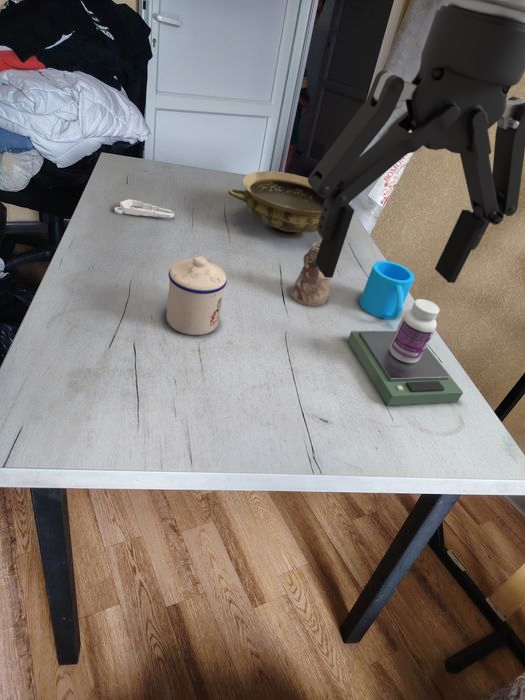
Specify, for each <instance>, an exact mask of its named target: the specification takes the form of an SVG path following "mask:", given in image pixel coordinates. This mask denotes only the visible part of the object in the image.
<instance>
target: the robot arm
mask: <svg viewBox="0 0 525 700" xmlns="http://www.w3.org/2000/svg"><path fill="white" fill-rule="evenodd" d="M420 54H421V55H420V65H419V69H418V72H417V73H416V74H415V76H414V78H413V79H412V80H411V81H407V80H405V79H403V78H402V77H400V76H399V75H396V74H395V73H392V72H390V71H388V70H387V69H385V70H384V69H382V70H380V71H378V72H377V74H376V76H374V80H373V83H372V85H371V87H370V90H369V91H368V95H367V98H366V99H365V101H364V102H363V104H362V105H361V106H360V108H359V109H358V110H357V112H356V113H355V114H354V116H353V117H352V119H350V121H349V122H348V124H347V125H346V126H345V128H344V129H343V130H342V132H341V133H340V134H339V136H338V137H337V138H336V140H335V141H334V142H333V144H332V145H331V146H330V147H329V149H328V150H327V152H326V153H325V154H324V156H323V157H322V158H321V160H320V161H319V162H318V163H317V165H316V166H315V167H314V169H313V170H312V171H311V173H310V174H309V176H308V177H307V178H308V183H309V185H310V186H311V187H312V188H313V190H314V191H315V192H316V193H317V194H318V195H319V197H321V198H325V201H324V205H323V208H322V212H321V215H320V219H319V222H318V226H317V230H318V231H317V233H318V235H319V236H320V238H321V240H322V241H321V245H320V248H319V251H318V255H317V258H316V262H315V263H316V264H317V266H318V267H319V269H320V270H321V272H322V274H323V275H324V277H328V278H331V279H332V278H333V277H334V274H335V273H336V268H337V265H338V262H339V259H340V256H341V253H342V251H343V247H344V243H345V241H346V237H347V234H348V232H349V229H350V226H351V222H352V219H353V216H354V213H355V209H354V208H353V207H352V206H351V204H349V203H351V201H353V200H355V198H357V197H358V196H359V195H361V193H362V192H364V191H365V190H366V189H367V188H369V186H371V185H372V184H373V183H374V182H376V181H377V180H378V179H379V178H381V176H383V175H385V173H387V172H388V171H389V170H390V169H391V168H393V167H394V166H395V165H396V164H397V163H398V162H400V161H401V160H402V159H403V158H404V157H406V155H408V154H412V153H416V152H417V151H419V149H421V148H422V147H424V148H426V149H427V150H434V151H439V150H447V151H449V152H450V153H453V154H459V156H460V161H461V165H462V169H463V174H464V179H465V183H466V188H467V191H468V196H469V201H470V205H471V206H470V207H471V209H472V211H471V210H469V209H461V211H460V214H459V216H458V218H457V220H456V223H455V224H454V226H453V228H452V230H451V233H450V235H449V238H448V239H447V241H446V244H445V245H444V248H443V250H442V252H441V254H440V255H439V258H438V261H437V263H436V265H435V267H434V270H435V271H436V272H437V273H438V274H439V275H440V276H441V277H442V278H443V279H444V280H445V281H446V282H447V283H449V284H455V283H456V282H457V279H458V277H459V275H460V274H461V272H462V270H463V268H464V266H465V264H466V262H467V260H468V257H470V256H469V255H470V254H471V252H472V251H475V250H476V249H477V248H478V246H480V245H479V244H480V243H481V242H482V241H481V240H482V239H483V237H484V234H485V233H486V231H487V230H488V227H489V225H490V224H491V225H493V226H497V225H499V224H500V223H501V222H502V221H503V220H504V218H505V216H507V217H512V216H513V215H515V214H516V212H517V211H518V209H519V207H518V206H519V199H520V192H521V184H522V177H523V176H522V175H523V167H524V163H525V162H524V161H525V99H523V98H520V97H517V96H515V95H513V96H510V97H509V98H508V94H509V91H510V90H511V88H512V87H513V86H516V85H517V84H519V83H520V81H521V80H522V78H523V77H524V74H525V0H448V3H447V5H440V8H439V9H436V11H435V13H434V17H433V19H432V22H431V25H430V28H429V31H428V33H427V37H426V40H425V42H424V45H423V48H422V51H421V53H420ZM507 98H508V99H507ZM404 102H405V107H406V112H405V113H404V114H403V115H402V116H401V117H399V118H398V119H397V120H396V121H394V123H392V124H391V125H390V126H389V127H388V131H387V133H386V134H385V135H383V136H382V137H381V138H380V139H378V140H377V141H376V142H375V143H373V144H372V145H371V146H370V147H369V145H370V144H371V143H372V142H373V140H374V139H375V138H376V136H377V135H379V133H380V131H381V130H382V129H383V128H384V127H385V126H386V124H387V123H388V121H389V120H390V118H391V117H392V115H393V113H394V111H396V110H398V109H400V108H402V107H403V105H404ZM495 124H496V125H497V126H496V129H495V136H494V148H493V151H494V152H493V161H492V165H491V160H490V154H492V147H491V140H490V135H489V130H490V128H491V127H493V125H495ZM368 147H369V148H368ZM367 148H368V149H367ZM366 149H367V150H366ZM504 215H505V216H504Z"/></svg>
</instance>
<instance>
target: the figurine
mask: <svg viewBox="0 0 525 700" xmlns="http://www.w3.org/2000/svg"><path fill="white" fill-rule="evenodd" d="M321 241H322V239H320V240H317V241H314V242H313V243H312V244H311V246H310V248H309V250H308V252H307V253H305V254H304V255H303V258H302V261H303V266H302V268H301V270H300V272H299V274H298V275H297V278H296V280H295V282H294V283H293V287H292V289H291V293H290V295H291V297H292V298H293V299H294V300H295V301H297V302H298V303H299V304H301V305H303V306H304V305H305V306H309V307H318V306H322V305H324V304H325V303H326V301H327V299H328V297H329V295H330V291H331V285H332V278H328V277H324V275H323V274H322V272H321V270H320V269H319V267H318V266H317V264H316V263H315V262H316V258H317V255H318V251H319V248H320V245H321Z"/></svg>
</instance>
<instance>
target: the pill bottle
mask: <svg viewBox="0 0 525 700" xmlns="http://www.w3.org/2000/svg"><path fill="white" fill-rule="evenodd" d="M439 314H440V307H439V306H438V305H437V304H436V303H434V302H433V301H431V300H428V299H423V298H418V299H416V300H415V301H414V303H413V304H412V306H411V309H408V310H407V311H405V312H404V314H403V316H402V318H401V320H400V321H399V324H398V326H397V328H396V330H395V331H396V333H395V335H394V337H393V339H392V342H391V344H390V347H389V350H390V352H391V354H392V355H393V356H394V357H395V358H397V359H398V360H400V361H402V362H406V363H415V362H417V361H419V359H420V358H421V356H422V354H423V352H424V350H425V348H426V346H427V347H428V346H429V345H428V344H429V343H430V341H431V339H432V337H433V335H434V334H435V331H436V329H437V325H438V324H437V318H438V316H439Z"/></svg>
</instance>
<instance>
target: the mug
mask: <svg viewBox="0 0 525 700" xmlns="http://www.w3.org/2000/svg"><path fill="white" fill-rule="evenodd" d="M414 281H415V274H414V273H413V272H412V271H411V270H410V269H409V268H407V267H406V266H404V265H402V264H399V263H397V262H395V261H394V262H393V261H389V260H377V261H375V262H374V263H373V265H372V267H371V270H370V272H369V275H368V277H367V280H366V283H365V285H364V288H363V291H362V293H361V296H360V299H359V305H360V307H361V308H362V309H363V310H364V311H365V312H366V313H368V314H370V315H372V316H374V317H377V318H379V319H380V318H381V319H386V320H389V321H393V320H396V319H397V318H399V316H400V315H401V313H402V311H403V307H404V303H405V301H406V299H407V297H408V294H409V292H410V290H411V288H412V285H413V283H414Z"/></svg>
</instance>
